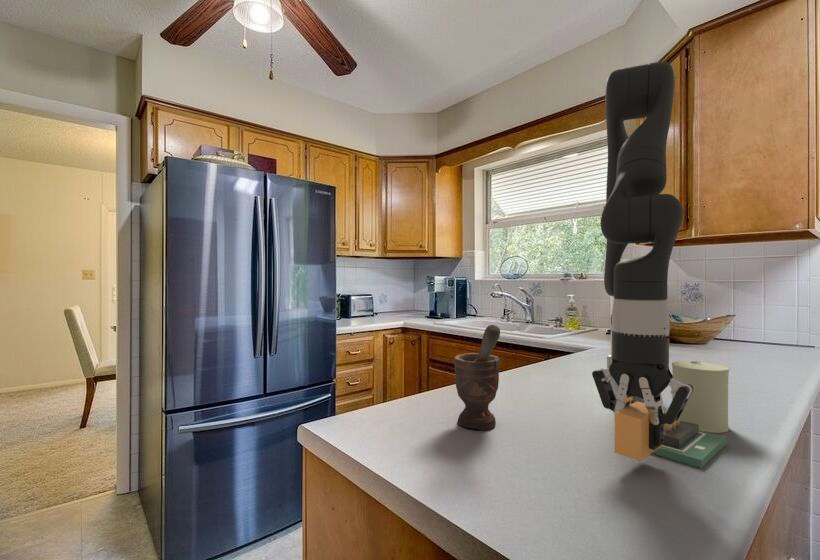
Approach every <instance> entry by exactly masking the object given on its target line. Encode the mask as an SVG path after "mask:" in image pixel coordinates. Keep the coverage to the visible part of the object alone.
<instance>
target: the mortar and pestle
mask: <svg viewBox="0 0 820 560" xmlns="http://www.w3.org/2000/svg"><path fill="white" fill-rule="evenodd" d="M500 336H501V329H500V327H499V326H497V325H494V324H489V325H488V326H487V327H486V328H485V329H484V332H483V335H482V339H481V343H480V348H479V351H478V352H469V353H467V352H466V353H459V354H457V355H455V357H454V382H455V388H456V391H457V396H458V397H459V399H460V400H461V401H462V403H464V408H463V410H462V411H461V412H460V413H459V415H458V418H457V422H456V423H457V424H458V425H459V426H461V427H463V428H467V429H472V430H473V429H474V430H480V431H481V430H482V431H488V430H492V429H494V428H495V427H496V424H497V423H496V422H497V420H496V417H495V414H494V413H492V412H491V411H490V410H489V405H490V404H491V402H492V401H494V400H495V399H496V395H497V392H498V390H499V383H500V382H499V381H500V376H499V375H500V373H499V372H500V364H501V363H500V360H501V359H500V357H499V356H498V355H493V354H492V352H493V350H494V349H495V346H496V345H497V343H498V341H499V339H500Z"/></svg>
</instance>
